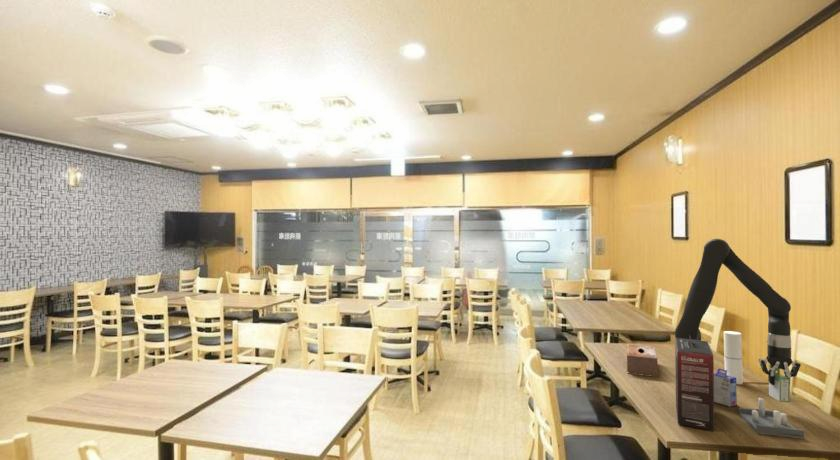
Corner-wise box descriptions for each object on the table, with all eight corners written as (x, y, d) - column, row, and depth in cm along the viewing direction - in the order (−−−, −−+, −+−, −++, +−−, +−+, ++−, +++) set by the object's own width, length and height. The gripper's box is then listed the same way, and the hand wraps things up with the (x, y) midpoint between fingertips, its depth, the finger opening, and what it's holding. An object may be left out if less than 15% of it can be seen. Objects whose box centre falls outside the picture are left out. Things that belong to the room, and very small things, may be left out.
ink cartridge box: (737, 405, 178) (736, 372, 178) (731, 407, 176) (730, 374, 176) (713, 397, 187) (712, 365, 187) (706, 399, 184) (705, 367, 185)
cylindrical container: (727, 383, 204) (726, 333, 204) (723, 378, 210) (721, 330, 211) (745, 385, 201) (743, 334, 201) (739, 380, 207) (738, 331, 208)
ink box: (790, 402, 166) (790, 370, 166) (779, 401, 167) (779, 369, 167) (779, 395, 173) (778, 364, 173) (768, 395, 174) (768, 364, 174)
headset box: (675, 402, 181) (673, 329, 182) (710, 408, 175) (707, 332, 175) (677, 425, 160) (675, 342, 161) (717, 432, 154) (714, 346, 154)
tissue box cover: (657, 377, 214) (657, 358, 214) (627, 373, 221) (626, 355, 221) (654, 363, 237) (654, 346, 237) (627, 360, 244) (626, 344, 244)
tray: (757, 433, 153) (757, 411, 153) (739, 414, 169) (738, 394, 169) (804, 438, 148) (803, 416, 148) (780, 418, 164) (779, 398, 164)
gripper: (762, 345, 169) (762, 386, 169) (805, 348, 164) (805, 390, 164) (754, 340, 176) (754, 380, 176) (795, 343, 171) (795, 384, 171)
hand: (779, 384), depth 170 cm, fingers closed on ink box, 4 cm apart
